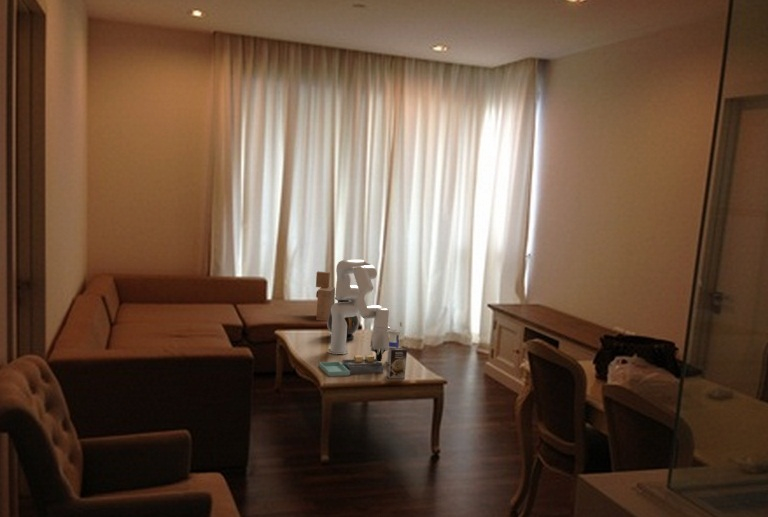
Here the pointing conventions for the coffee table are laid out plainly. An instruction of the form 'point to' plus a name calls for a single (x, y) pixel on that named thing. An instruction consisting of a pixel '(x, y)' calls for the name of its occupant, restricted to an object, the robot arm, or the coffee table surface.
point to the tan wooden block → (369, 358)
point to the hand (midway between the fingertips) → (378, 360)
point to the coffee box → (396, 362)
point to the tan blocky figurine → (324, 296)
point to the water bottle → (393, 339)
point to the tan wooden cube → (358, 359)
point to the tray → (334, 369)
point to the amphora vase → (351, 322)
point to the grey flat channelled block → (362, 366)
